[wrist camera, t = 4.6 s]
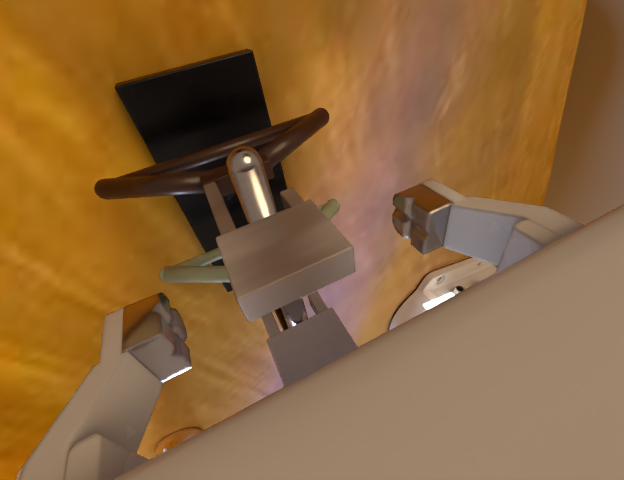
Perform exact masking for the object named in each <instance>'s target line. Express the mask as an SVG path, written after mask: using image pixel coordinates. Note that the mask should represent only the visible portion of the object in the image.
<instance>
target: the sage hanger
mask: <svg viewBox="0 0 624 480" xmlns="http://www.w3.org/2000/svg"><path fill="white" fill-rule="evenodd" d="M318 208H319V209H320V210H321V211H322V212H323V214H324V215H325V216H326V217H327V218H328V219H329V220H331V219H332V218H333V216H334V215H335V214H336V213H337V212H338V210H339V208H340V204H339V202H338V201H337V200H335V199H331V200H329V201H328V202H327V203H326V204H324V205H321V206H319V207H318ZM221 258H222V256H221V253H220V250H219V248H216V249H214V250H211V251H209V252H206V253H204V254H201V255H199V256H197V257H194V258H192V259H189V260H187V261H184V262H182V263H179V264H177V265H175V266H168V267H164V268H162V269H161V271H160V273H159V277H160V279H161V280H162V281H164V282H230V280H229V277H228V274H227V271H226V268H225V266H204V265H207V264H209V263H212V262H214V261H216V260H219V259H221ZM308 298H309V302H310V305H311V307H312V308H313V310H314V312H315V314H316V315H315V316H313V317H311V318H309V319H307V320H305V321H302V322H300V323H298V324H296V325H294V326H292V327H290V328H288V329H286V330H284V331H282V332H280V330H279V328H278V326H277V323H276V321H275V319H274V316H273V314H272V312H270V313H268V314H266V315H264V316H261V317H262V319H263V322H264V324H265V327H266V329H267V332H268V334H269V337H270V338H268V339H267V343H268V346H269V348H270V351H271V353H272V356H273V359H274V361H275V364H276V366H277V369H278V372H279V374H280V377H281V379H282V382H283V385H284V387H285V386H287V385H289V384H291V383H293V382H295V381H297V380H298V379H300V378H302V377H304V376H306V375H308V374H310V373H311V372H313V371H315V370H317V369H319V368H321V367H323V366H324V365H326V364H328V363H330V362H332V361H334V360H336V359H337V358H339V357H341V356H343V355H345V354H347V353H349V352H350V351H352V350H354V349H356V348H358V347H357V345H356V344H355V342H354V341H353V339H352V337H351V336H350V334H349V333H348V331H347V330H346V328H345V327H344V325H343V324H342V322H341V320H340V319H339V317H338V316H337V314H336V313H335V311H334V310H333V308H332V307H331V308H329V309H328V308H327V306H326V305H325V303H324V302H323V300H322V298H321V297H320V295H319V294H318V292H317V291H316V292H314V293H312V294H310V295H308Z"/></svg>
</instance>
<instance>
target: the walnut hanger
mask: <svg viewBox="0 0 624 480" xmlns="http://www.w3.org/2000/svg"><path fill="white" fill-rule="evenodd" d="M328 121H329V113H328V112H327V110H326V109H324V108H317V109H316V110H314V111H313V112H312V113H310V114H307V115H304V116H301V117H298V118H295V119H292V120H289V121H286V122H283V123H280V124H277V125H274V126H271V127H268V128H265V129H262V130H259V131H256V132H253V133H250V134H247V135H244V136H241V137H238V138H235V139H232V140H229V141H226V142H223V143H220V144H217V145H214V146H211V147H208V148H205V149H202V150H199V151H196V152H193V153H190V154H187V155H184V156H181V157H177V158H174V159H171V160H168V161H165V162H162V163H159V164H156V165H153V166H150V167H147V168H144V169H141V170H138V171H135V172H132V173H129V174H126V175H123V176H120V177H117V178H109V179H102V180H99V181H98V182H97V183H96V184H95V187H94V190H95V193H96V194H97V195H98V196H99V197H100V198H103V199H123V198H139V197H154V196H169V195H185V194H200V193H206V196H207V199H208V201H209V204H210V207H211V210H212V212H213V215H214V218H215V221H216V223H217V226H218V229H219V232H220V234H221V235H220V236H218V237H216V242H217V245H218V247H219V250H220V253H221V256H222V259H223V262H224V265H225V268H226V271H227V274H228V277H229V280H230V283H231V286H232V289H233V292H234V295H235V298H236V300H237V302H238V304H239V306H240V308H241V310H242V312H243V314H244V315H245V317H246V319H247V321H249V322H251V321H253V320H255V319H257V318H259V317H261V316H264V315H266V314H268V313H270V312H272V311H274V310H276V309H278V308H280V307H282V306H285V305H287V304H289V303H291V302H293V301H295V300H297V299H299V298H301V297H303V296H306V295H308V294H310V293H312V292H314V291H316V290H318V289H320V288H322V287H324V286H327V285H329V284H331V283H333V282H335V281H337V280H339V279H341V278H343V277H345V276H348V275H350V274H352V273H354V272H355V261H354V250H353V246H352V245H351V244H350V243H349V241H348V240H347V239H346V238H345V237H344V236H343V235H342V234H341V233H340V231H339V230H338V229H337V228H336V227H335V226H334V225H333V224H332V222H331V221H330V220H329V219H328V218H327V217H326V216H325V215H324V214H323V212H322V211H321V210H320V209H319V208H318V207H317V206H316V205H315V204H314V202H313V201H312V200H307V201H305V202H304V201H303V199H302V198H301V197H300V196H299V195H298V194H297V192H296V191H295V190H294V189H293V188H289V189H286V190H284V191H281V192H280V195H281V199H282V202H283V206H284V209H285V210H282V211H280V212H277V213H275V214H272V215H270V216H267V217H265V218H262V219H260V220H257V221H255V222H252V223H250V224H248V225H245V226H243V227H240V228H238V229H236V227H235V225H234V223H233V220H232V218H231V216H230V214H229V211H228V209H227V207H226V205H225V202H224V200H223V198H222V197H224V196H226V195H229V194H232V193H234V192H236V190H235V188H234V185H233V182H232V180H231V177H230V175H229V172H228V170H227V166H226V165H224V166H221V167H218V168H215V169H212V170H207V171H195V172H183V171H186V170H189V169H192V168H195V167H198V166H200V165H203V164H206V163H209V162H212V161H215V160H218V159H221V158H224V157H227V156H228V154H229V153H230V151H231V150H232V149H234V148H235V147H238V146H249V147H252V148H253V147H256V146H259V145H262V144H265V143H268V142H270V141H272V142H270V143H269V144H267V145H266V146H265V147H263V148H262V149H261V150H259V151H258V153H259V155H260V157H261V159H262V162H263V166H264V169H265V173H266V176H267V179H268V180H269V179H272V178H274V173H273V170H272V168H273V167H274V166H275V165H276V164H278V163H279V162H280V161H281V160H283V159H284V158H285V157H286V156H288V155H289V154H290V153H291V152H293V151H294V150H295V149H296V148H297V147H299V146H300V145H301V144H302V143H304V142H305V141H306V140H307V139H309V138H310V137H311V136H312V135H314V134H315V133H316V132H317V131H318V130H320V129H321V128H322V127H323V126H325V125H326V124H327V123H328ZM180 172H183V173H180Z"/></svg>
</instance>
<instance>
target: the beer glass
mask: <svg viewBox="0 0 624 480" xmlns="http://www.w3.org/2000/svg"><path fill="white" fill-rule="evenodd" d="M200 432H202V430H201V429H198V428H188V429H183V430H180V431H177V432H175V433H172V434H170V435H168V436H167V437H165V438H164V439H162V440H161V441H160V442H159V443H158V445H157V446H156V448H155V455H156V456H157V455H159V454H161V453H163V452H165V451H167V450H169V449H170V448H172V447H174V446H176V445H178V444H180V443H182V442H183V441H185V440H187V439H189V438H191V437H193V436H195V435H196V434H198V433H200Z"/></svg>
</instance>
